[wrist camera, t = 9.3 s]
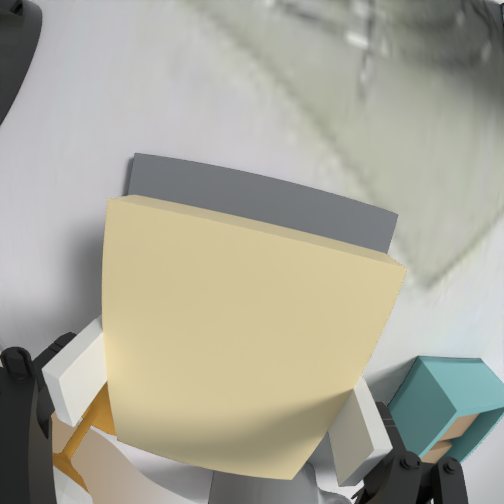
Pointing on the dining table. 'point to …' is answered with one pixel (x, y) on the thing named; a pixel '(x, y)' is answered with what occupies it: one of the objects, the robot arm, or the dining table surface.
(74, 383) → the robot arm
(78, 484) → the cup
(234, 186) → the mat
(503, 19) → the chalk box
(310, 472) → the coffee mug
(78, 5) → the dining table surface
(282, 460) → the lid
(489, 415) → the box
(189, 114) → the dining table surface
